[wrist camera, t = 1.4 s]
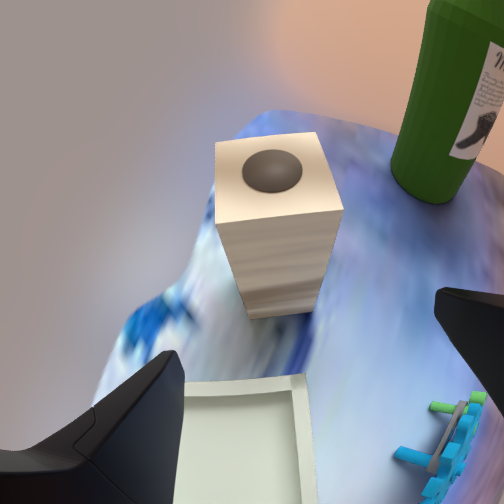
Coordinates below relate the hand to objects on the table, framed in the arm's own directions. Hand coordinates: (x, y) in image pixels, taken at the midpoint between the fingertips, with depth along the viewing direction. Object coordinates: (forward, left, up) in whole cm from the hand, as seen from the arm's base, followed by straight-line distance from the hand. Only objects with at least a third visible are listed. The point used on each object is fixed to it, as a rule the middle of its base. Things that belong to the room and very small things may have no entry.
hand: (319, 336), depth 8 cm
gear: (-10, -10, -13) cm, 19 cm away
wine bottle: (+18, -18, -13) cm, 29 cm away
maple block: (+7, +1, -13) cm, 15 cm away
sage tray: (-7, +6, -13) cm, 16 cm away
